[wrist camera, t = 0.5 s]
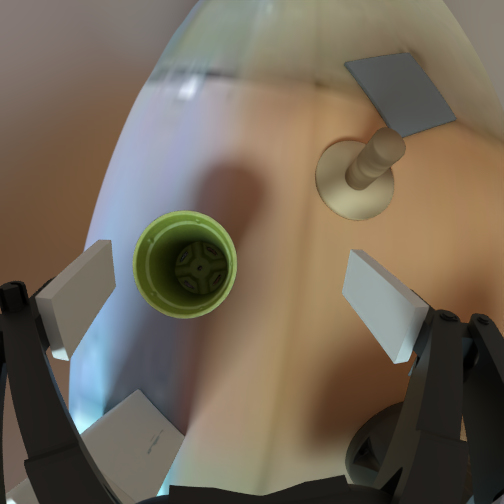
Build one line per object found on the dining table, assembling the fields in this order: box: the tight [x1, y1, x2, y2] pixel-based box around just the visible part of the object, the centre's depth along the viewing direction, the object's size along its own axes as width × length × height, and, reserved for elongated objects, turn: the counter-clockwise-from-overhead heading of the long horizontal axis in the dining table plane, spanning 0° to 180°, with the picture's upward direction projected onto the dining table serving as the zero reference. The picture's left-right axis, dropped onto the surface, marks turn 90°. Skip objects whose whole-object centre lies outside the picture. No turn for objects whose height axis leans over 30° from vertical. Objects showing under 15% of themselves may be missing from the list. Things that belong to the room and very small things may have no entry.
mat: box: [344, 53, 457, 138], centre depth 35 cm, size 14×14×1 cm
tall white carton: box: [6, 389, 185, 504], centre depth 19 cm, size 9×9×25 cm
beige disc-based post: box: [315, 128, 406, 221], centre depth 28 cm, size 10×10×11 cm
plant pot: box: [133, 210, 237, 319], centre depth 29 cm, size 9×9×9 cm
